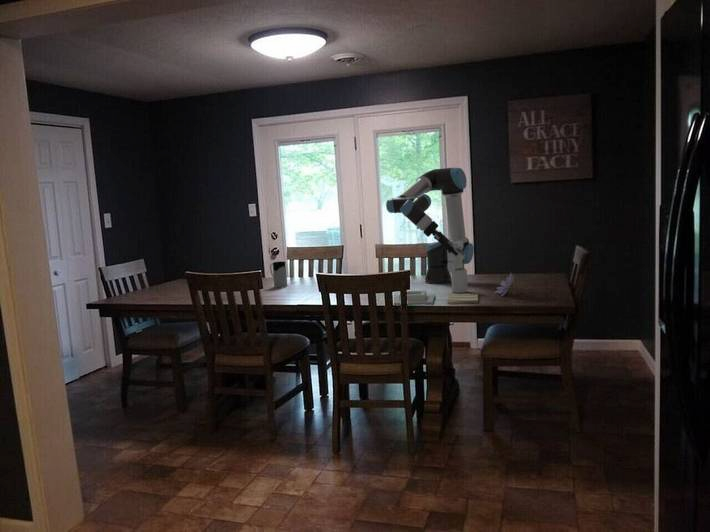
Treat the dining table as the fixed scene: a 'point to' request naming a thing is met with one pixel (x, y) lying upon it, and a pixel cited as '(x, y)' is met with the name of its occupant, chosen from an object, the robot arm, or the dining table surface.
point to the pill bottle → (459, 281)
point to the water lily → (505, 286)
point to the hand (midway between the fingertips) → (463, 258)
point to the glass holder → (279, 274)
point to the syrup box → (453, 262)
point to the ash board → (462, 298)
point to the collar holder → (416, 298)
